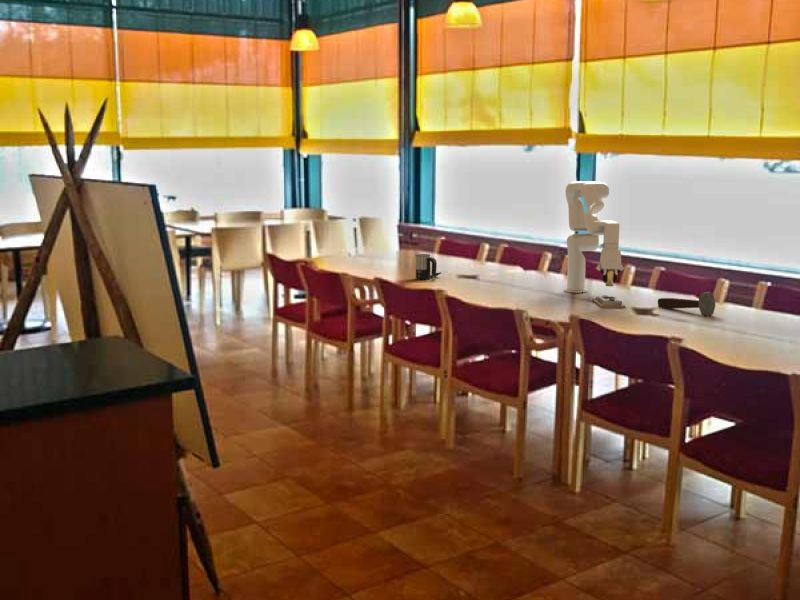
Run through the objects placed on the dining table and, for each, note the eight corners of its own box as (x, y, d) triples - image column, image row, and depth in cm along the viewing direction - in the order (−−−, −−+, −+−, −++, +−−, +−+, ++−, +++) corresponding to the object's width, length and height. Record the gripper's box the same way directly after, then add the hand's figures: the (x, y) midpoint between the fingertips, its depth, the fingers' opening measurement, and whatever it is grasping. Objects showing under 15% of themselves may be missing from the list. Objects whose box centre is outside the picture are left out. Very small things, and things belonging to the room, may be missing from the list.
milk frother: (413, 279, 512) (413, 255, 510) (420, 275, 527) (420, 252, 524) (436, 281, 508) (436, 256, 505) (443, 277, 523) (443, 252, 520)
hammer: (657, 314, 427) (709, 316, 402) (655, 292, 426) (708, 292, 401) (663, 313, 429) (716, 315, 405) (661, 291, 429) (714, 291, 404)
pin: (604, 285, 435) (605, 267, 434) (612, 285, 435) (613, 267, 434) (606, 286, 431) (607, 268, 430) (614, 286, 431) (615, 268, 430)
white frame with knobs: (592, 300, 445) (592, 292, 444) (615, 300, 445) (615, 292, 444) (601, 307, 425) (601, 299, 425) (625, 307, 425) (625, 299, 425)
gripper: (595, 247, 426) (594, 283, 429) (629, 247, 426) (628, 283, 429) (592, 245, 434) (591, 281, 437) (625, 245, 434) (624, 281, 437)
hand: (609, 282), depth 433 cm, fingers closed on pin, 4 cm apart
